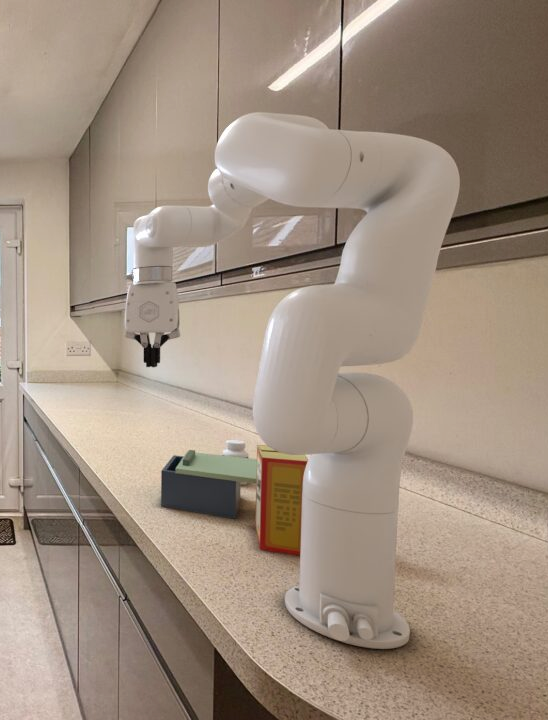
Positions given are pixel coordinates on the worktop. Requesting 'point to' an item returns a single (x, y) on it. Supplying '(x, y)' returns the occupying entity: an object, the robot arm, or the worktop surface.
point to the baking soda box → (279, 500)
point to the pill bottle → (235, 450)
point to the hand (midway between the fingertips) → (151, 366)
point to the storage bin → (198, 492)
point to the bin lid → (218, 467)
